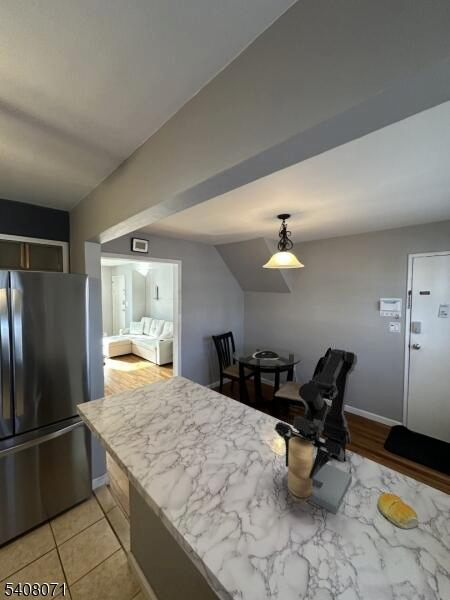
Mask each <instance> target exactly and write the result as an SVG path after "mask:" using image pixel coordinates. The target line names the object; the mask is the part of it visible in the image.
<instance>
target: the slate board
mask: <svg viewBox="0 0 450 600" xmlns="http://www.w3.org/2000/svg"><path fill="white" fill-rule="evenodd" d="M315 458H316V457H315ZM315 458H314V457H313V464H314V461H315ZM352 475H353V474H351V473H348V472H346V471H344V470H341V469H339V468H337V467H335V466H332V465H331V464H328V463H326V464H325V465H324V466H323V467H322V468H321V469H320V470H319V471H318V472H317V474H316V475H315V476H314V477H313V479H312V486H315V487H317V488H319V490H318V492H316V491H315V490H313V489H312V496H311V498H310V499H308V500H309V501H311V502H312V503H315V504H316V505H318V506H320V507H322V508H324V509H325V510H327V511H329V512H330V513H333V514H334V515H337V513H338V510H339V509H340V507H341V504H342V502H343V500H344V498H345V496H346V493H347V491H348V490H349V487H350V485H351V484H352V481H353V476H352ZM287 484H288V471H287V472H286V473H285V474H284V475H283V476H282V478H281V485H283V486H285V487H286V488H287Z"/></svg>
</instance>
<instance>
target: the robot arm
mask: <svg viewBox="0 0 450 600" xmlns="http://www.w3.org/2000/svg"><path fill="white" fill-rule="evenodd" d="M357 363H358V356H357V354H355V352H352V351H346V350H344V349H337V348H333V349H331V351H330V355H329V358H328V360H327V362H326V364H325V366H324V368H323V369H322V372H319V373H317V374H315V375H314V377H313V379H312V380H311V379H309V380H308V382H306V383H304V384H302V385H301V386H300V387H299V389H298V395H299V397H300V399H301V401H302V403H303V404H304V406H305V407H306V409H305V412H304V413H303V414H302V416H301V417H300V416H296V415H295V417H294V421H293V425H292V427H291V425H290V424H287V423H284V422H281V421H279V422H277V423H276V424H275V426H274V431H275V432H276V433H277V434H278V436H279V437H281V438H282V439H283V440H284V445H285V467H286V468H288V456H289V440H290V439H291V438H292V437H303V438H306V439H308V440H310V441H311V442H312V443H313V448H317V449H316V454H315V461H314V464H313V467H312V469H311V473H310V479H313V477H314V476H315V475H316V474H317V472H318V471H319V470H320V469H321V468H322V467H323V466H324V465H325V464H328V462H332V463H333V460H334V461H337V462H339V463H344V462H347V458H346V446H347V445H349V444H350V445H351V433H350V430H349V428H348V422H347V421H348V420H347V419H346V417H345V414H344V413H345V407H346V398H347V392H348V385H349V378H350V375H351V374H352V372H354V370H355V366H356V365H357ZM326 400H327V401H328V400H329V401H331V403H330V410H329V405H328V403H327V401H326ZM293 429H295V430H293ZM321 436H322V437H323V438H324V442H323V441H321V440H320V439H321Z"/></svg>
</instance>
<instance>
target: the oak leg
mask: <svg viewBox="0 0 450 600" xmlns="http://www.w3.org/2000/svg"><path fill="white" fill-rule="evenodd" d="M313 443H314V442H313ZM313 443H312V442H311V441H310V440H308V439H306V438H303V437H292V438H291V439H290V440H289V456H288V467H287V472H288V484H287V487H286V488H287V491H288V493H289V495H290V496H291V497H292V498H293V499H294V500H295V502H298V503H305V502H306V501H308V500H309V499H310V498H311V496H312V490H313V484H312V479H310V473H311V469H312V467H313V458H314V446H313Z"/></svg>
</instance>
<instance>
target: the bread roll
mask: <svg viewBox="0 0 450 600" xmlns="http://www.w3.org/2000/svg"><path fill="white" fill-rule="evenodd" d="M377 508H378V509H379V512H380V513H381V514H382V516H384V517H385V518H386V519H387V520H388V521H389V522H390V523H392V524H393V525H395V527H396V526H397V527H399V528H401V529H405V530H406V529H407V530H408V529H414V528H416V527H418V524H419V516H418V514H417V513H416V511H415V510H414V508H413V507H411V506H410V505H409V504H408V503H405V502H404V500H402V499H401V498H400V497H399V496H398V495H396V494H394V493H389V492H385V493H382V494H380V495H379V497H378V499H377Z"/></svg>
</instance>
